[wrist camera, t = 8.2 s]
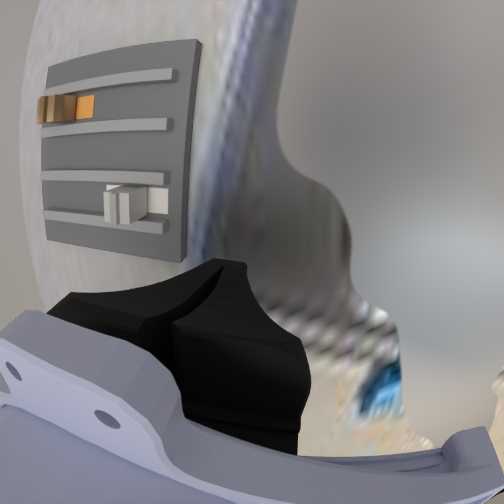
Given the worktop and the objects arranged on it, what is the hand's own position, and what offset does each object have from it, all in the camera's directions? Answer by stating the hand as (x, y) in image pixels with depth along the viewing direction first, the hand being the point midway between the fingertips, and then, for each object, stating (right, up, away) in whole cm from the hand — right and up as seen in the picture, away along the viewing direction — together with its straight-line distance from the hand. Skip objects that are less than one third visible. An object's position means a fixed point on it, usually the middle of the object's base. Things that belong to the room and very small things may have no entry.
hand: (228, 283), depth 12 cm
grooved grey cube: (-7, +5, +8) cm, 12 cm away
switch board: (-10, +9, +8) cm, 16 cm away
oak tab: (-14, +12, +5) cm, 19 cm away
